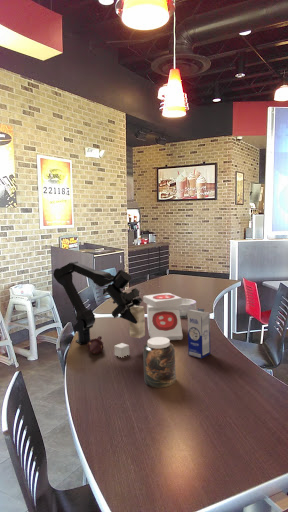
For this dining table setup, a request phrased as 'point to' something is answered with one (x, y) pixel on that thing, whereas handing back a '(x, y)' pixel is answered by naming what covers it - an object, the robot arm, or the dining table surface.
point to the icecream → (95, 345)
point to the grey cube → (121, 350)
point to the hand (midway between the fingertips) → (139, 321)
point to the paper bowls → (186, 306)
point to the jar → (159, 362)
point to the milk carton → (198, 333)
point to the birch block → (138, 328)
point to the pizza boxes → (164, 316)
